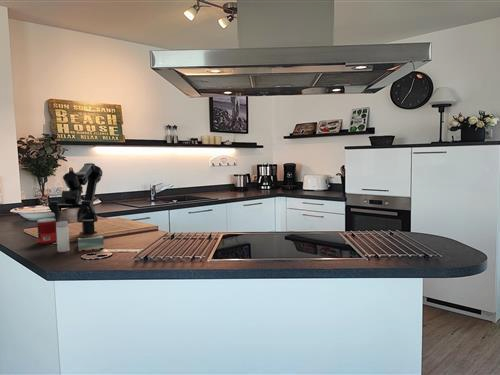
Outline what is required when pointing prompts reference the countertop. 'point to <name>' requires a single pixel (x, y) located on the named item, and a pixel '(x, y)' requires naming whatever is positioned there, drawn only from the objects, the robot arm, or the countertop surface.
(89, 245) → the stand
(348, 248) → the countertop surface
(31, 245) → the countertop surface
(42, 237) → the canned food
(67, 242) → the mill
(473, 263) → the countertop surface
